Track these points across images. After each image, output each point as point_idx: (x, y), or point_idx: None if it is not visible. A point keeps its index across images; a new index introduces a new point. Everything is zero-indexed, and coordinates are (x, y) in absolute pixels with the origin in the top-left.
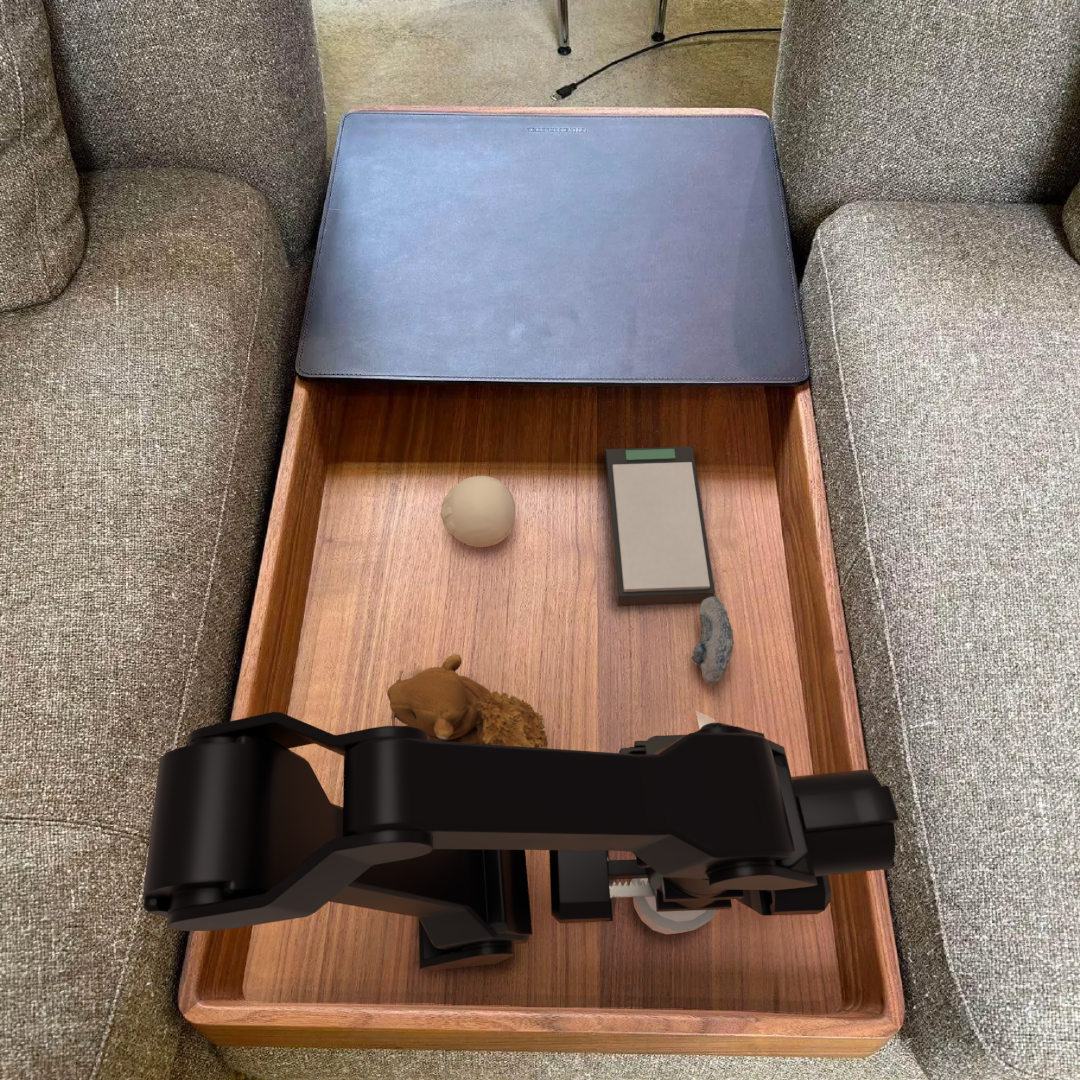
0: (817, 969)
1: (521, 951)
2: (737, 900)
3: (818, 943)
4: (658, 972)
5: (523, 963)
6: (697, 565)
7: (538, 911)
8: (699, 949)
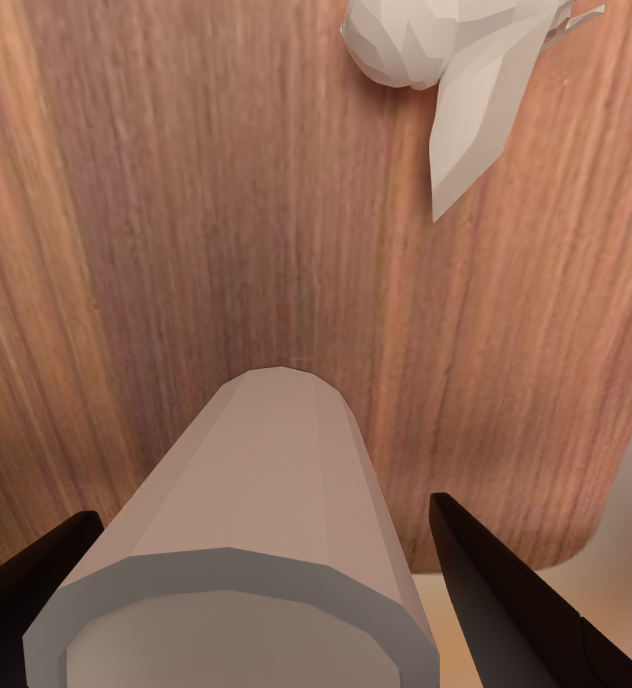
0: (558, 534)
1: (6, 524)
2: (463, 632)
3: (577, 500)
4: None
5: (17, 539)
6: None
7: (11, 467)
8: None
